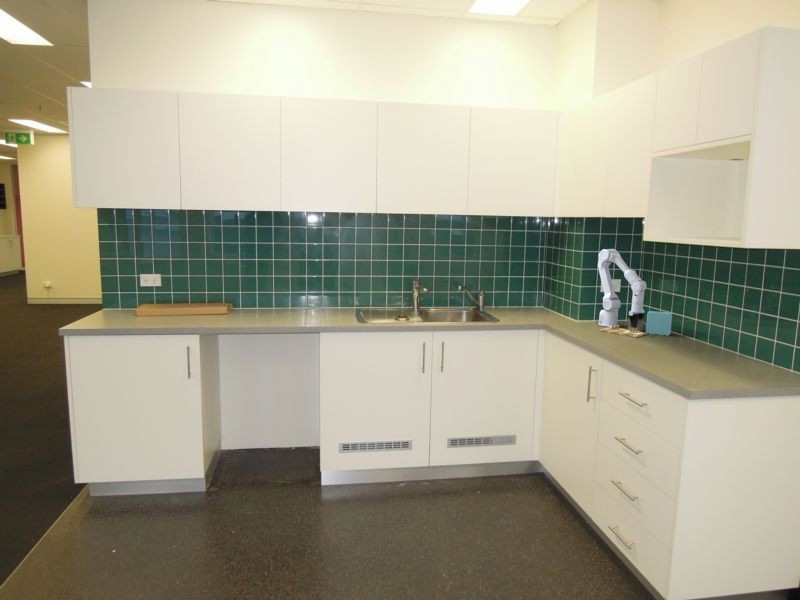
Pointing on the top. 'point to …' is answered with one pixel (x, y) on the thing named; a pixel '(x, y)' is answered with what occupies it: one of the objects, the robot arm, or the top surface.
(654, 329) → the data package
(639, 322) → the block
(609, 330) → the board
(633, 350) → the top surface
